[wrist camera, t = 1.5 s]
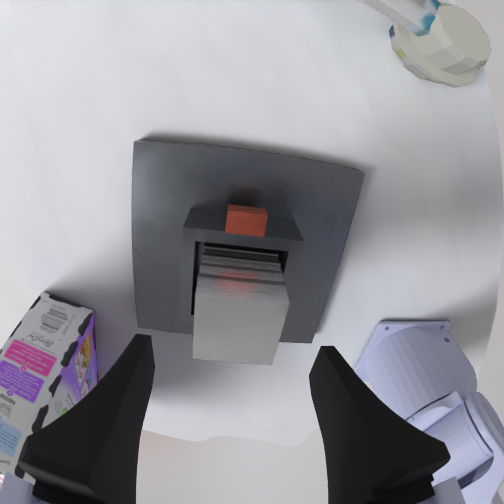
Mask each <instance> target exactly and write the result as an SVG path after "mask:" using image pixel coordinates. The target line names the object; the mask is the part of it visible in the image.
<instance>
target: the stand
mask: <svg viewBox="0 0 504 504" xmlns="http://www.w3.org/2000/svg"><path fill="white" fill-rule="evenodd" d="M363 178H364V173H363V172H362V171H360V170H358V169H354V168H349V167H345V166H340V165H335V164H330V163H326V162H321V161H315V160H310V159H305V158H299V157H294V156H288V155H282V154H276V153H269V152H263V151H256V150H249V149H241V148H233V147H225V146H216V145H207V144H197V143H185V142H173V141H157V140H137V141H134V149H133V168H132V254H133V274H134V288H135V301H136V312H137V322H138V327H142V328H148V329H155V330H162V331H169V332H177V333H185V334H193V332H194V310H195V294H196V288H197V278H198V273H199V270H200V262H201V260H202V253H203V249H204V244H205V242H210V243H219V244H228V245H237V246H246V247H254V248H263V249H272V250H276V252H277V253H278V260H279V261H280V262H281V265H280V268H281V271H283V279H284V282H286V291H287V295H288V299H289V303H290V304H289V307H288V311H287V314H286V318H285V322H284V325H283V329H282V332H281V336H280V339H279V342H292V343H312V340H313V338H314V335H315V333H316V330H317V327H318V324H319V322H320V319H321V316H322V313H323V311H324V308H325V305H326V302H327V299H328V296H329V293H330V290H331V287H332V284H333V281H334V278H335V275H336V272H337V269H338V266H339V263H340V260H341V256H342V253H343V250H344V247H345V243H346V240H347V237H348V233H349V230H350V226H351V223H352V219H353V216H354V212H355V208H356V205H357V201H358V197H359V193H360V189H361V186H362V182H363Z"/></svg>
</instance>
